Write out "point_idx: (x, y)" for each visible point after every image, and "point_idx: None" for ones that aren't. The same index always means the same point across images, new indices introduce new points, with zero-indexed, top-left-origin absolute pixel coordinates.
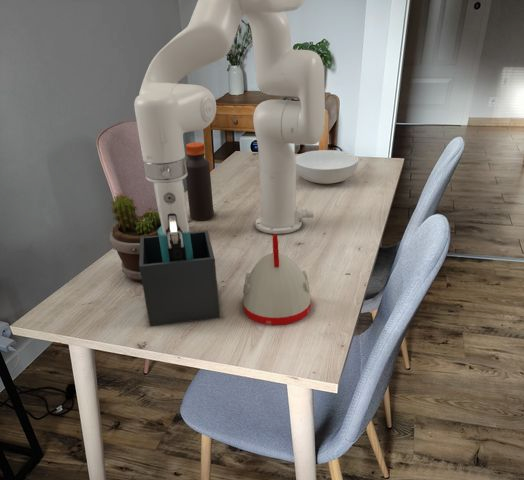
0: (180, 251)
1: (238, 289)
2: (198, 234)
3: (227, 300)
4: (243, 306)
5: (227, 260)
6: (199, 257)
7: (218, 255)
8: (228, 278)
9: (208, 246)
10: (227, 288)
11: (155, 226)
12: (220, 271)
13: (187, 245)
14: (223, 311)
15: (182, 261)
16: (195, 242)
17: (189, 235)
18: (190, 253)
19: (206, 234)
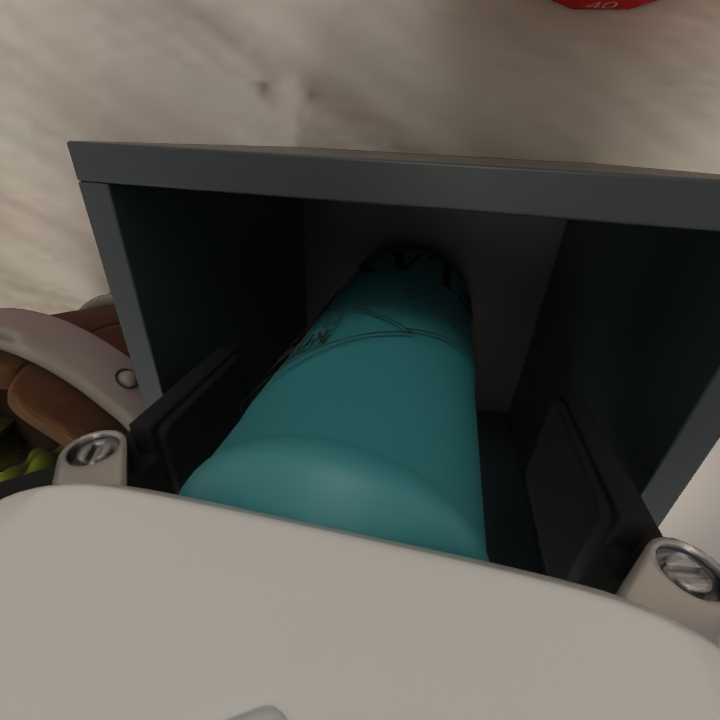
0: (656, 537)
1: (358, 5)
2: (136, 243)
3: (450, 94)
4: (594, 1)
5: (57, 24)
6: (241, 221)
7: (16, 70)
8: (236, 50)
9: (467, 204)
10: (334, 74)
11: (4, 428)
12: (167, 85)
13: (451, 417)
14: (545, 135)
15: (676, 481)
16: (185, 259)
17: (396, 434)
18: (437, 355)
19: (161, 173)
